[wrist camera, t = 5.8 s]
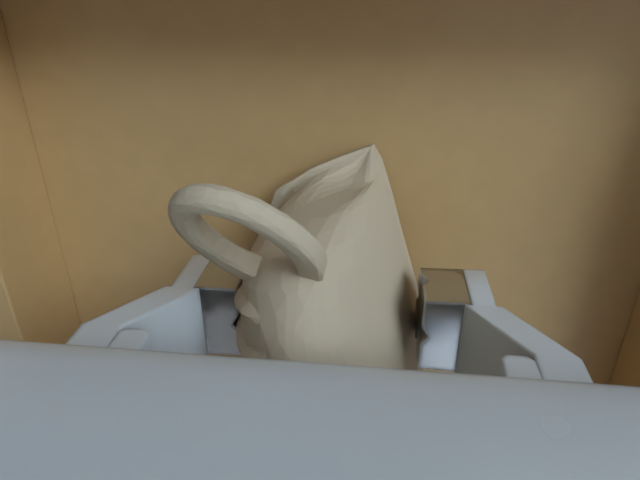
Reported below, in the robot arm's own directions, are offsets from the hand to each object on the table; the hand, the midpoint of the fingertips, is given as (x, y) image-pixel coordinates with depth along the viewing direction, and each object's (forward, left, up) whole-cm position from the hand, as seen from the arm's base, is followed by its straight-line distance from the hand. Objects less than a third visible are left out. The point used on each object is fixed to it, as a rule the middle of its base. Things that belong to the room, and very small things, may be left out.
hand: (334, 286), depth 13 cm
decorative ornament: (0, 0, -2) cm, 2 cm away
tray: (0, 0, -2) cm, 2 cm away
